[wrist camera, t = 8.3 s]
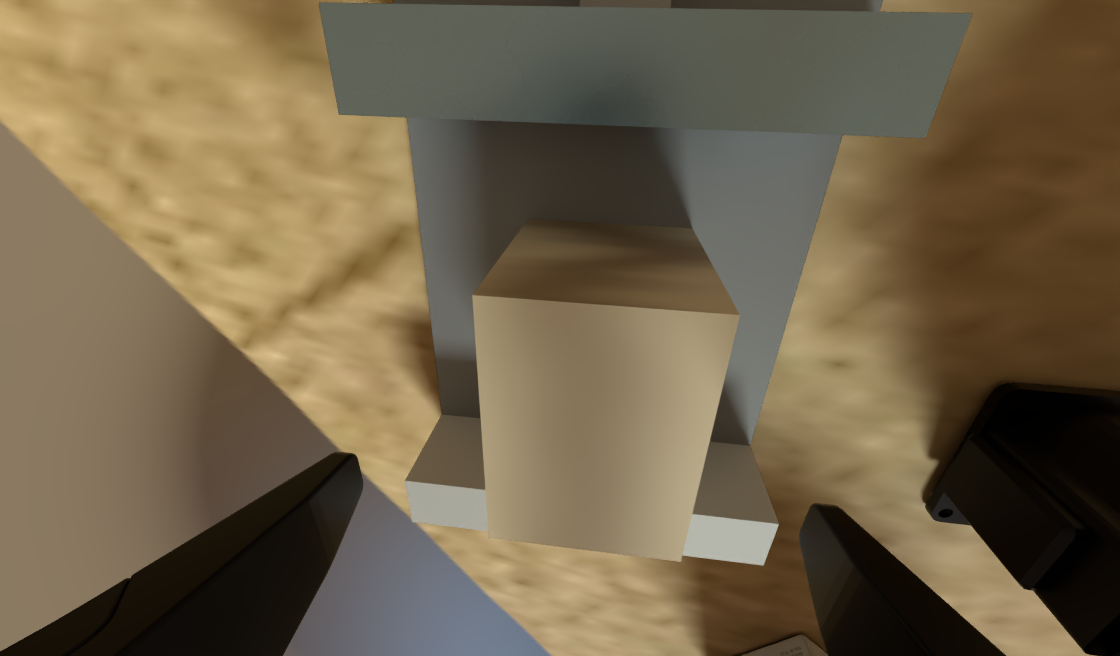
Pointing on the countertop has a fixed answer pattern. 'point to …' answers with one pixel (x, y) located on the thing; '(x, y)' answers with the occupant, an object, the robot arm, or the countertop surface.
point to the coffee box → (790, 648)
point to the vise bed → (632, 199)
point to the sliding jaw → (645, 65)
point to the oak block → (599, 384)
